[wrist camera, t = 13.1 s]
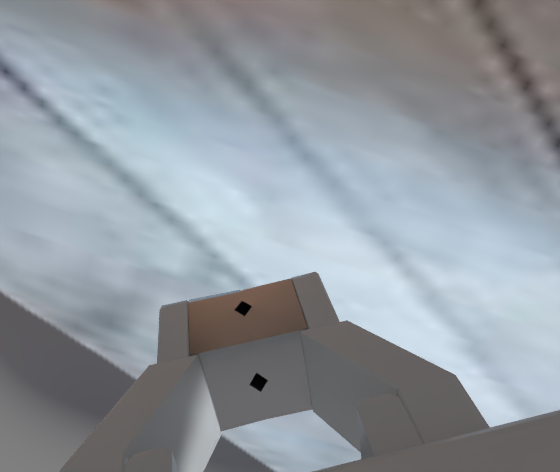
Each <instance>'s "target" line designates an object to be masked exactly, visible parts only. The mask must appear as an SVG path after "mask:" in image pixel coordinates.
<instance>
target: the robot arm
mask: <svg viewBox="0 0 560 472" xmlns="http://www.w3.org/2000/svg"><path fill="white" fill-rule="evenodd" d="M312 409H313V412H315V413H316V414H317V415H318V416H319V417H320V418H322V419H323V420H324V421H325V422H326V423H327V424H328V425H330V426H331V427H332V428H333V429H334V430H335V431H337V432H338V433H339V434H340V435H341V436H342V437H343V438H345V439H346V440H347V441H348V442H349V443H350V444H351V445H353V446H354V447H355V448H356V449H357V450H358V451H360V452H361V460H357V461H353V462H349V463H345V464H341V465H337V466H333V467H329V468H325V469H321V470H317V471H313V472H560V410H558V411H554V412H550V413H546V414H542V415H538V416H534V417H530V418H526V419H522V420H518V421H515V422H511V423H507V424H503V425H499V426H495V427H491V428H490V427H489V426H488V424H487V423H486V421H485V420H484V418H483V417H482V415H481V413H480V412H479V410H478V409H477V407H476V406H475V404H474V403H473V401H472V400H471V398H470V397H469V395H468V394H467V392H466V391H465V389H464V387H463V386H462V384H461V383H460V381H459V380H458V378H457V377H456V375H454V374H452V373H450V372H448V371H446V370H444V369H442V368H440V367H438V366H436V365H434V364H432V363H430V362H428V361H426V360H424V359H422V358H420V357H419V356H417V355H415V354H413V353H411V352H409V351H407V350H405V349H403V348H401V347H399V346H397V345H395V344H393V343H391V342H389V341H387V340H385V339H383V338H381V337H379V336H377V335H375V334H373V333H371V332H369V331H367V330H365V329H363V328H361V327H359V326H357V325H355V324H353V323H351V322H349V321H342V322H339V319H338V317H337V315H336V313H335V310H334V308H333V306H332V304H331V301H330V299H329V297H328V295H327V292H326V290H325V288H324V285H323V283H322V281H321V279H320V276H319V274H318V273H316V272H312V273H308V274H305V275H301V276H297V277H293V278H291V279H287V280H282V281H278V282H274V283H270V284H265V285H261V286H257V287H253V288H249V289H244V290H237V291H231V292H226V293H221V294H216V295H211V296H206V297H201V298H196V299H191V300H189V301H187V300H186V301H181V302H177V303H172V304H168V305H163V306H162V307H161V309H160V314H159V334H158V355H157V364H154V365H149V366H148V368H147V369H146V370H145V371H144V372H143V373H142V375H141V376H140V377H139V378H138V379H137V380H136V382H135V383H134V384H133V385H132V386H131V388H130V389H129V390H128V391H127V392H126V393H125V394H124V396H123V397H122V398H121V399H120V400H119V402H118V403H117V404H116V405H115V406H114V407H113V409H112V410H111V411H110V412H109V413H108V414H107V416H106V417H105V418H104V419H103V420H102V421H101V423H100V424H99V425H98V426H97V427H96V428H95V430H94V431H93V432H92V433H91V435H89V437H88V438H87V439H86V440H85V441H84V443H83V444H82V445H81V446H80V447H79V448H78V450H77V451H76V452H75V453H74V454H73V455H72V456H71V458H70V459H69V460H68V461H67V462H66V464H65V465H64V466H63V467H62V468H61V470H60V472H203V471H204V469H205V467H206V465H207V463H208V461H209V458H210V457H211V454H212V452H213V450H214V448H215V446H216V444H217V442H218V440H219V438H220V436H221V431H224V430H228V429H231V428H235V427H239V426H242V425H246V424H250V423H254V422H257V421H261V420H265V419H269V418H274V417H279V416H283V415H288V414H293V413H297V412H302V411H307V410H312Z"/></svg>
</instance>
